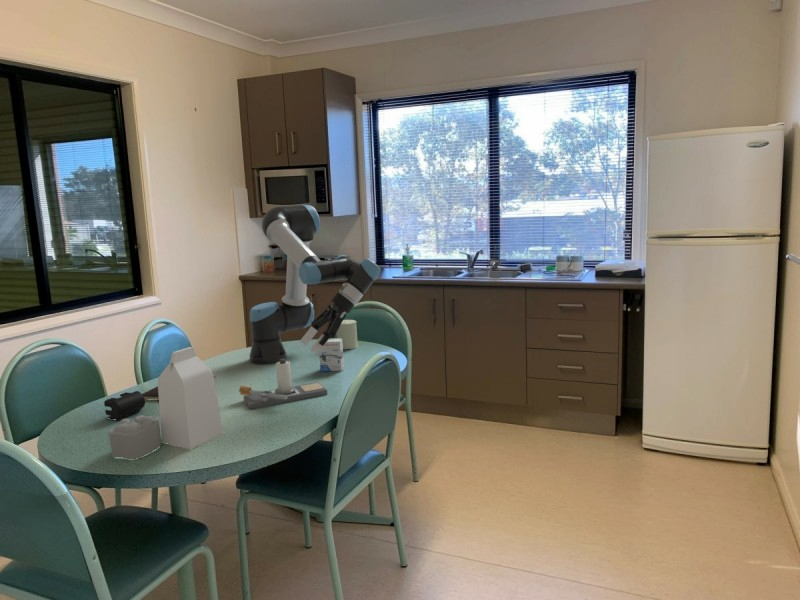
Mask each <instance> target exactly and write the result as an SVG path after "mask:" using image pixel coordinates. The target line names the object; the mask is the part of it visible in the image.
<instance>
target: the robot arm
mask: <svg viewBox="0 0 800 600" xmlns="http://www.w3.org/2000/svg"><path fill="white" fill-rule="evenodd" d="M318 213H319V212H318V211H317V209H316V208H315V207H314V206H312V205H310V204H295V205H293V204H292V205H282V206H281V205H277V206H275V207H272V208H270V209H268V210H267V211H266V213H265V214H264V215H263V217H262V221H261V228H262V229H261V230H262V232H263V235H264V236H265V237H266V238H267V239H268V241H270V242H272V243H275V244H276V245H277V246H278V247H279V248H280V250H282V251H283V252H284V254H285V255H286V259H287V260H286V277H285V278H286V279H285V282H286V283H285V295H284V296H282V298H281V304H278V303H277V302H276V301H269V302H264V303H263V302H262V303H260V304H257V305H254V306H253V307H251V309H250V310H249V322H250V330H251V340H252V342H251V343H252V344H251V347H250V351H249V355H248V356H249V362H250V363H251V364H256V365H269V364H276V363H277V362H280V359H287V351H286V349H285V347H284V344H283V342H282V339H281V338H282V337H281V333H285V332H291V331H296V330H302V329H305V328H308V327H309V326H310V327H309V329H308V330H307V331H306V333H305V334H304V335H303V336H302V338H301V339H300V340H299V342H300V343H302V344H303V345H304V346H308V344H309V343H310V342H311V341H312V340H313V338H314V336H315V335H316V334H317V333H318V332H319V331H320V328H321V327H323V326H325V325H326V324H327V323H328V324H327V326H326V328H325V330H324V331H323V332H321V335H320V337H319V338H318V339H317V340H316V341H315V343H313V345H312V346H311V348H310V349H309V350H310V351H311V352H312V353H314V354H315V355H319V351H320V350H321V349H322V348H323V346H324V345H325V344H326V342H327V341H328V340H329V339H335V336H337V331H338V329H339V327H340V325H341V323H342V321H343V320H345V318H346V317H347V314H350V313H351V312H352V310H353V309H354V308H355V305H357V304H358V303H359V302H360V300H361V299H362V297H364V294H366V293H367V291H368V289H370V287H371V286H372V285H373V283H374V282H376V281H377V278H378V277H379V275H380V273H381V272H382V269H381V268H380V266H379V265H378V264H376V262H374V261H373V260H371V259H370V258H368V257H367V258H364V259H362V261H358V260H356V259H354V258H353V257H351V256H349V255H345V254H340V255H337V256H336V257H334V259H326V260H325V259H324V260H321V259H320V258H319V257H318V256H317V255H316V254H315V253H314V252H313V251H312V250H311V249H310V244H311V243H312V242H313V241H314V235H315V234H317V233H319V231H320V230H321V220H320V219H321V218H320V216H319V214H318ZM342 280H346V281H345V283H342V286H341V288H340V289H339V292H337V293H336V294H335V295H334V296H333V298H332V299H331V302H332V303H333V305H331V304H328V306H327V307H326V308H325V309H324V310H323V311H322V312H321V313H320V314H319V315H317V317H316V318H315V309H314V308H315V307H314V304H313V303H312V301H310V298H309V297H308V296H307V289H308V288H307V286H308V285H317V284H322V283H323V284H324V283H328V282H335V281H336V282H337V281H342Z"/></svg>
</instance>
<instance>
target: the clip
mask: <svg viewBox="0 0 800 600" xmlns="http://www.w3.org/2000/svg"><path fill="white" fill-rule="evenodd" d="M269 391H270V390H263V391H262V390H256V389H252V387H251V386H246V385H242V386H241V385H240V386H239V389H238V392H239V393H240V395H242V396H245V395H247V396H250V395H252V394H254V395H260V396H261V397H272V398H278V399H284V400H286V399H288V397H287V395H281V394H275V393H270V392H269Z"/></svg>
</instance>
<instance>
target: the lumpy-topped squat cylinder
mask: <svg viewBox="0 0 800 600" xmlns="http://www.w3.org/2000/svg"><path fill="white" fill-rule="evenodd" d="M108 435H109V444H110V449H111V457H112V456H113V457H123V458H127V459H136V458H140V457H142V456H144V455H146V454H148V453H150V452H152V451H153V450H155V449H157V448H158V447H159V446H160V445H161V446H162V444H161V442H162V436H161V426H160V419H159V418H158V417H157V416H153V415H146V416H145V415H143V414H142V415H141V414H140V415H137V416H135V418H121V419H120V421H119V423H118V425H116V426H114V427H113V428H110V430H109V432H108Z"/></svg>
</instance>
